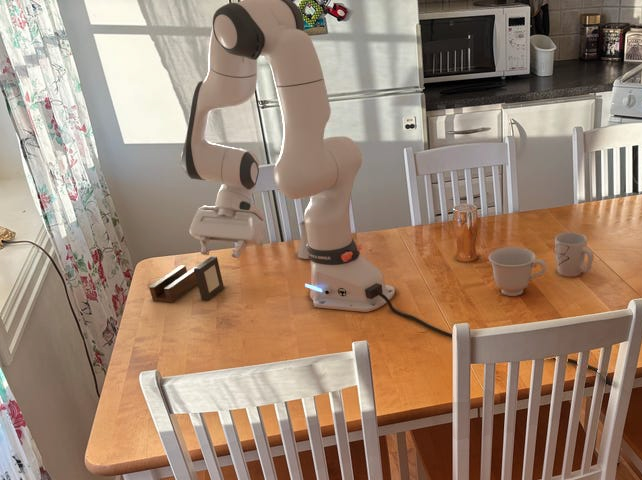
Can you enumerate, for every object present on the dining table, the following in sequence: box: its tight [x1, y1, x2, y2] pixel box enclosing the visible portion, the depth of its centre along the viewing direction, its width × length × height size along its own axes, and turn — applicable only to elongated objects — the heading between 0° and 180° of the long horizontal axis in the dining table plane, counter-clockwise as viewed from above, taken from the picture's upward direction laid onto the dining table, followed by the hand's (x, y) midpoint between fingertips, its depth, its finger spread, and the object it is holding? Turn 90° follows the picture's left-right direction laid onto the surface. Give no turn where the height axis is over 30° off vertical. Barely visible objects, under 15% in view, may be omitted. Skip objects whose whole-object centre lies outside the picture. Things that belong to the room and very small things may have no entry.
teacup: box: [488, 246, 547, 297], centre depth 187 cm, size 12×15×10 cm
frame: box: [193, 256, 225, 302], centre depth 191 cm, size 8×2×9 cm, turn 165°
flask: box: [297, 220, 310, 260], centre depth 211 cm, size 7×7×10 cm
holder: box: [149, 264, 198, 304], centre depth 195 cm, size 14×6×4 cm, turn 165°
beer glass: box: [452, 203, 479, 263], centre depth 205 cm, size 7×7×15 cm
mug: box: [554, 231, 594, 278], centre depth 195 cm, size 11×8×10 cm
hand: (219, 255), depth 194 cm, fingers open, 8 cm apart
